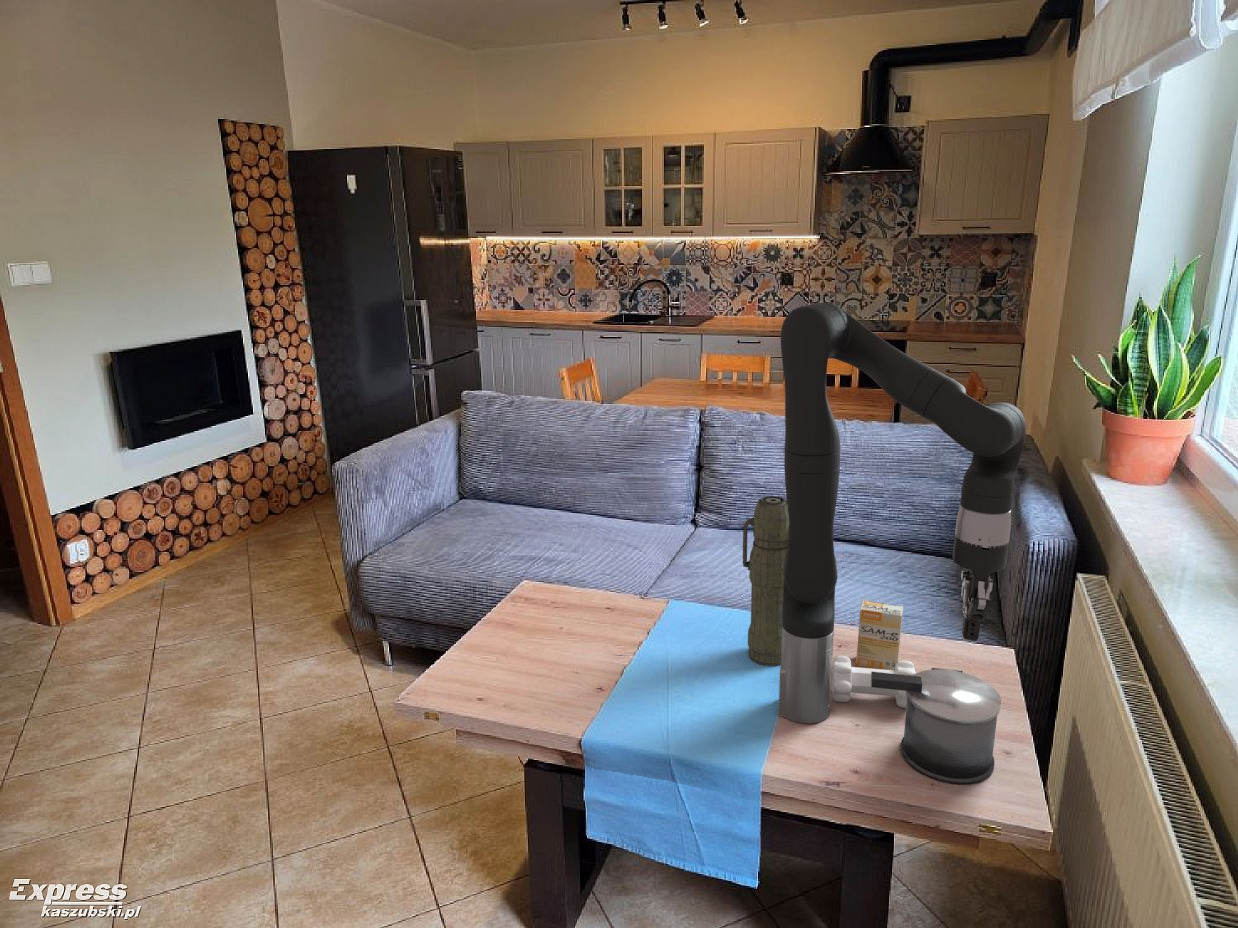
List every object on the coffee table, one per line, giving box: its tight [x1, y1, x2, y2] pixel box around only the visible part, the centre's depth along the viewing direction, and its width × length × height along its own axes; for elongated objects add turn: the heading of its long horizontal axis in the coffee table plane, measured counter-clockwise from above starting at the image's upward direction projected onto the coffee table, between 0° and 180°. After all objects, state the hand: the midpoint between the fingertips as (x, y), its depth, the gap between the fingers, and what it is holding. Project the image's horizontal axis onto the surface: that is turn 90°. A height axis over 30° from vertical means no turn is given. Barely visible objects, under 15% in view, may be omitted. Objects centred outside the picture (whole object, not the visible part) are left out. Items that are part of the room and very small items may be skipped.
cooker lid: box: [871, 667, 1002, 724], centre depth 136 cm, size 20×15×3 cm
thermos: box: [742, 495, 789, 668], centre depth 167 cm, size 9×12×35 cm
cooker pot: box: [900, 698, 998, 786], centre depth 137 cm, size 15×16×11 cm
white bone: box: [831, 655, 917, 709], centre depth 155 cm, size 15×9×8 cm, turn 78°
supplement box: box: [855, 600, 904, 670], centre depth 166 cm, size 8×5×13 cm, turn 68°
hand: (969, 637), depth 128 cm, fingers closed
